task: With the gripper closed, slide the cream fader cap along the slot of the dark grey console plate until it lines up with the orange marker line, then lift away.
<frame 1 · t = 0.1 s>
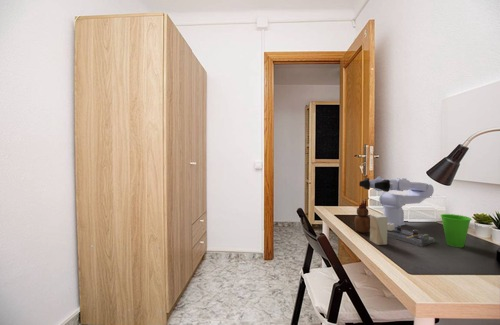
hand: (367, 184, 108), 22 cm above the table, tool horizontal, fingers open, 7 cm apart
fader: (390, 226, 104), point 3 cm above the table, slide at 0.0 cm
box: (378, 243, 93), on the table
wooden figurine: (362, 232, 107), on the table
cup: (455, 245, 90), on the table
console: (402, 236, 99), on the table
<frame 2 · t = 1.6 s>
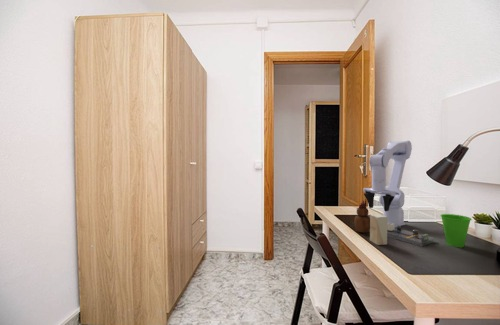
hand: (378, 209, 108), 10 cm above the table, tool pointing down, fingers open, 7 cm apart
nothing on the table moved.
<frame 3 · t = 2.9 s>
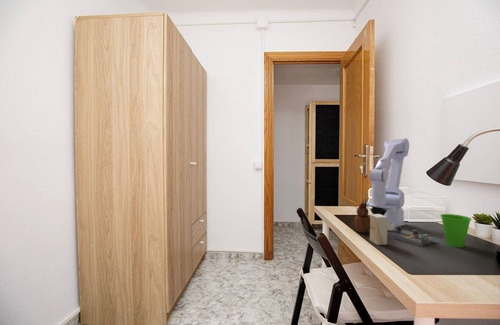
hand: (378, 223, 108), 3 cm above the table, tool pointing down, fingers closed
nothing on the table moved.
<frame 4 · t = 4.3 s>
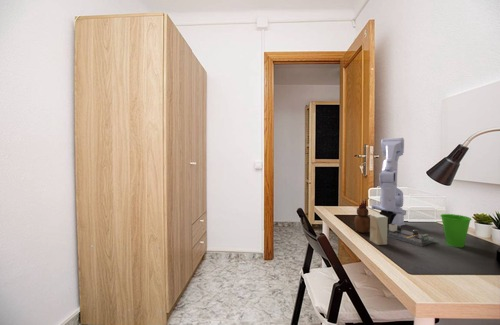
hand: (387, 227, 104), 2 cm above the table, tool pointing down, fingers closed
fader: (393, 227, 103), point 3 cm above the table, slide at 1.2 cm, touching gripper
everything else where it was.
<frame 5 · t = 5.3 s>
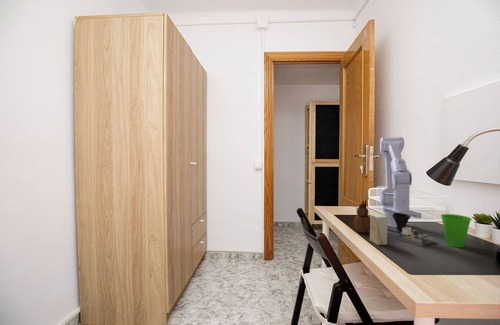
hand: (401, 231, 99), 2 cm above the table, tool pointing down, fingers closed
fader: (406, 230, 97), point 3 cm above the table, slide at 6.9 cm, touching gripper
everything else where it was.
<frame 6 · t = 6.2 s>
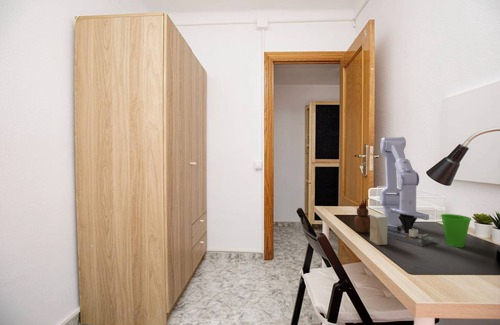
hand: (407, 233, 97), 2 cm above the table, tool pointing down, fingers closed
fader: (413, 232, 95), point 3 cm above the table, slide at 9.4 cm, touching gripper
everything else where it was.
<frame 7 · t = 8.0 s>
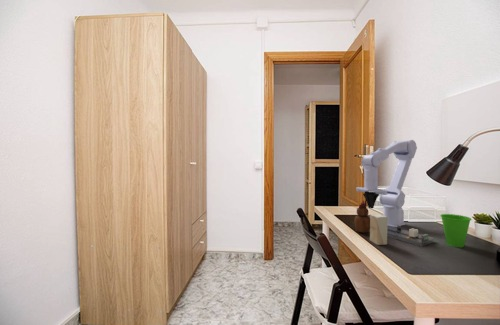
hand: (370, 208, 111), 10 cm above the table, tool pointing down, fingers closed
fader: (413, 232, 95), point 3 cm above the table, slide at 9.4 cm
everything else where it was.
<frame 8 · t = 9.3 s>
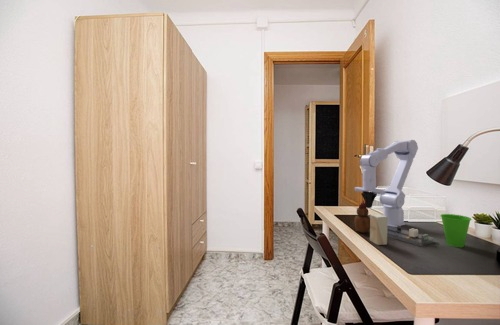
hand: (369, 207, 112), 10 cm above the table, tool pointing down, fingers closed
nothing on the table moved.
at the end: fader slide at 9.4 cm; fader 0.4 cm from the target spot, resting on console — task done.
